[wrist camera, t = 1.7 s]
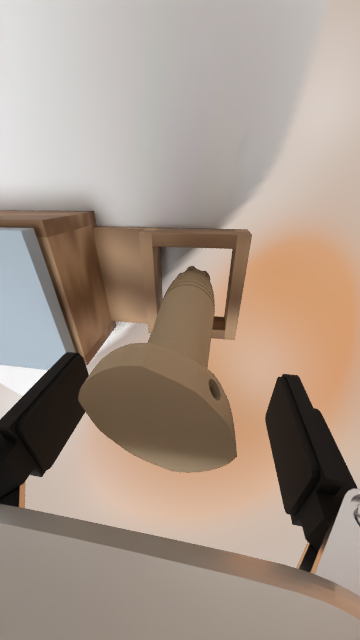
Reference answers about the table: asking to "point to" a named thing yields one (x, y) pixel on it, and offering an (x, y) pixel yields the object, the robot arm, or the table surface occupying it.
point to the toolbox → (120, 271)
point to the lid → (28, 305)
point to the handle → (167, 387)
